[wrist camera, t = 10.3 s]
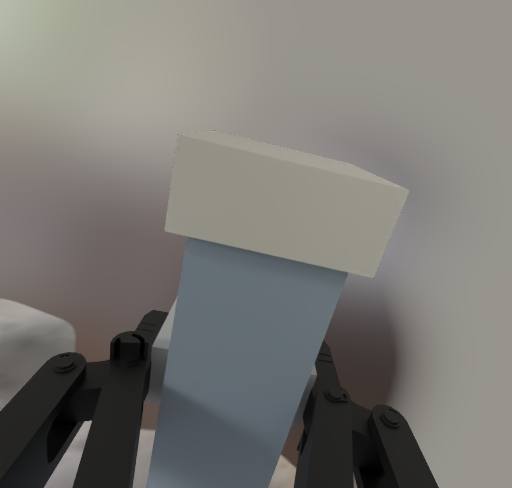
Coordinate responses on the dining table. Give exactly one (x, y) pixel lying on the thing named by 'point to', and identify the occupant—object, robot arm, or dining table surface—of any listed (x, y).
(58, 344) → the dining table surface
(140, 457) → the dining table surface
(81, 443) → the dining table surface
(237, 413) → the plug
